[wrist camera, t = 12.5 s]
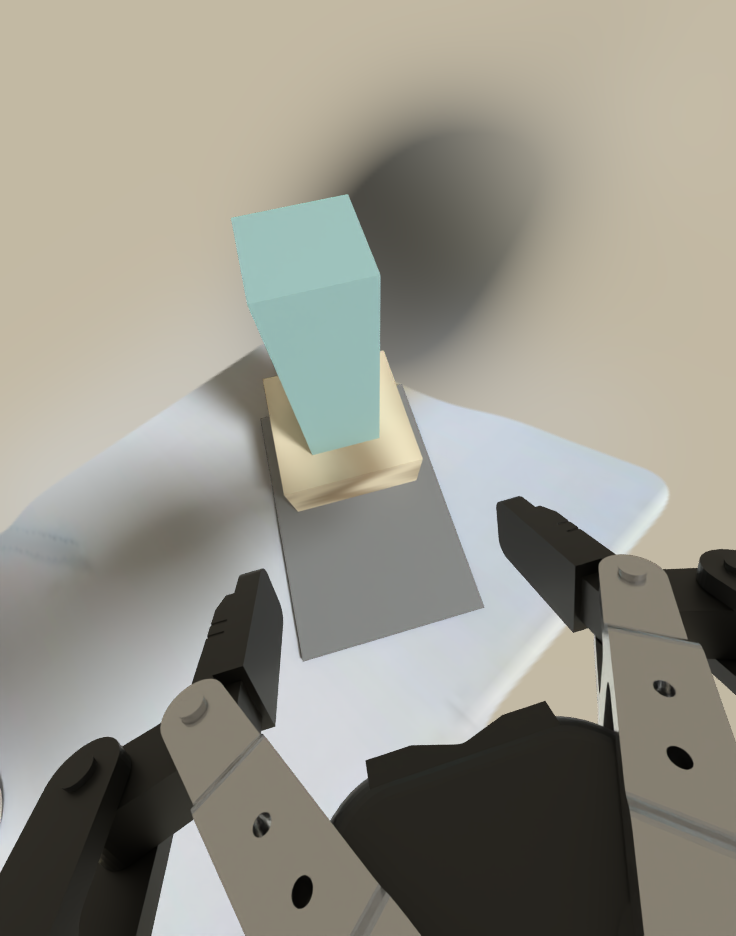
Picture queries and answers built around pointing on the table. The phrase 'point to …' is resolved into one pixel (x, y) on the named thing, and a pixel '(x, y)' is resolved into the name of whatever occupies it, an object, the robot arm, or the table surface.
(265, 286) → the pillar
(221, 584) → the table surface
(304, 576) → the mat
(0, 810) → the bath foam
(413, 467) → the base block
